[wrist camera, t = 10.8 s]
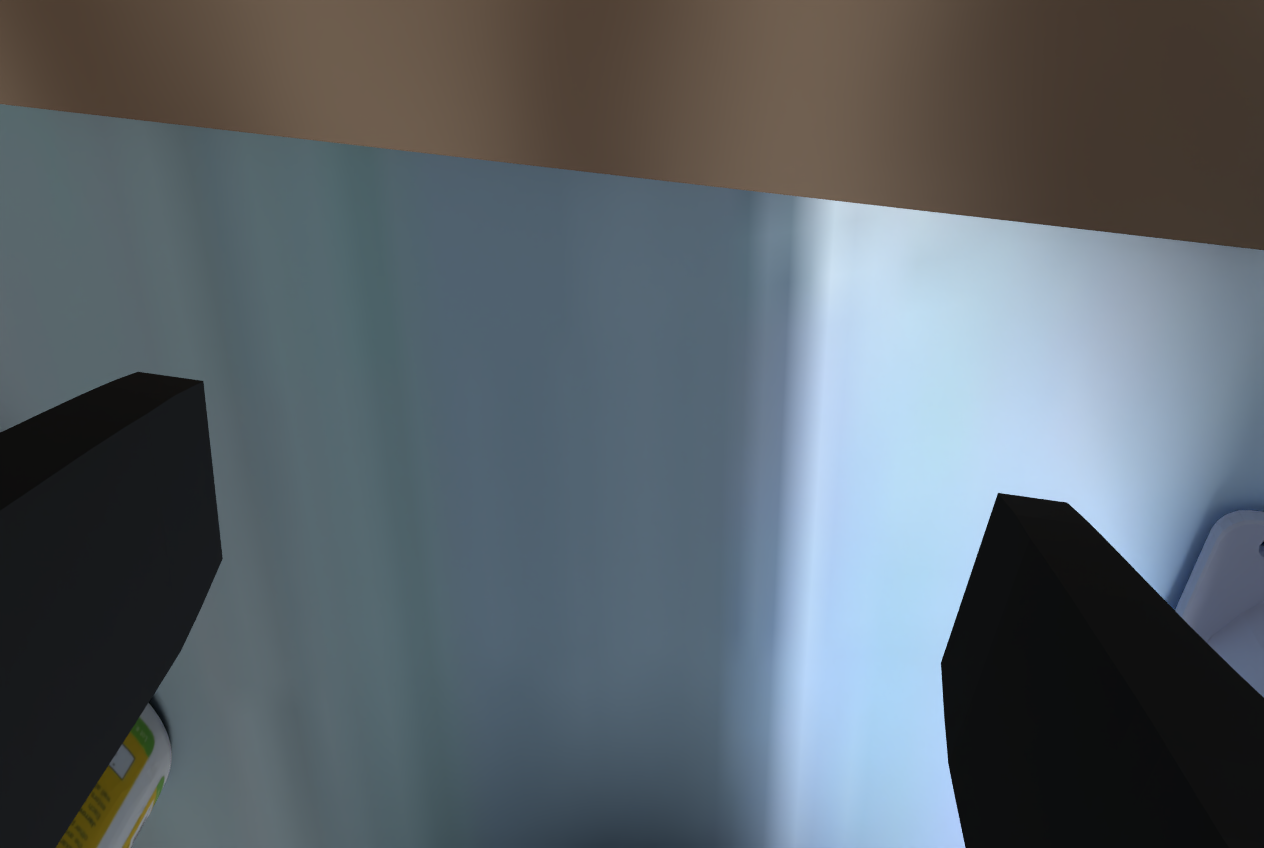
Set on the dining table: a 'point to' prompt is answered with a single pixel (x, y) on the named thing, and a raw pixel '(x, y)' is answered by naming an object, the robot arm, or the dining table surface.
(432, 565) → the dining table surface
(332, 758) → the dining table surface
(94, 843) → the supplement bottle
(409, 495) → the dining table surface
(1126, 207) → the holder board
